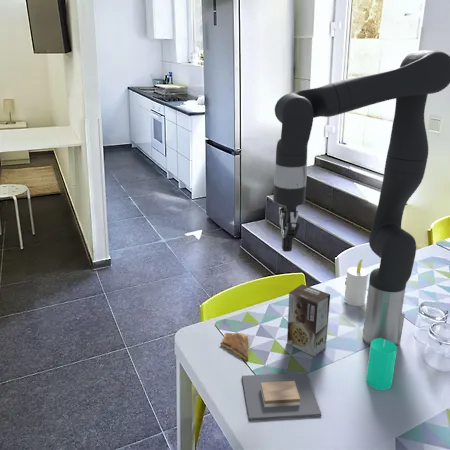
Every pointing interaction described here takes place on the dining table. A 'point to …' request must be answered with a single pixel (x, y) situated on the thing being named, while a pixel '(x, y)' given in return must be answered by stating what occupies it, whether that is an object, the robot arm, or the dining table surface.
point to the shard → (236, 344)
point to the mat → (260, 412)
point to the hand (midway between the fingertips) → (286, 250)
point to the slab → (280, 394)
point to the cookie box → (308, 319)
